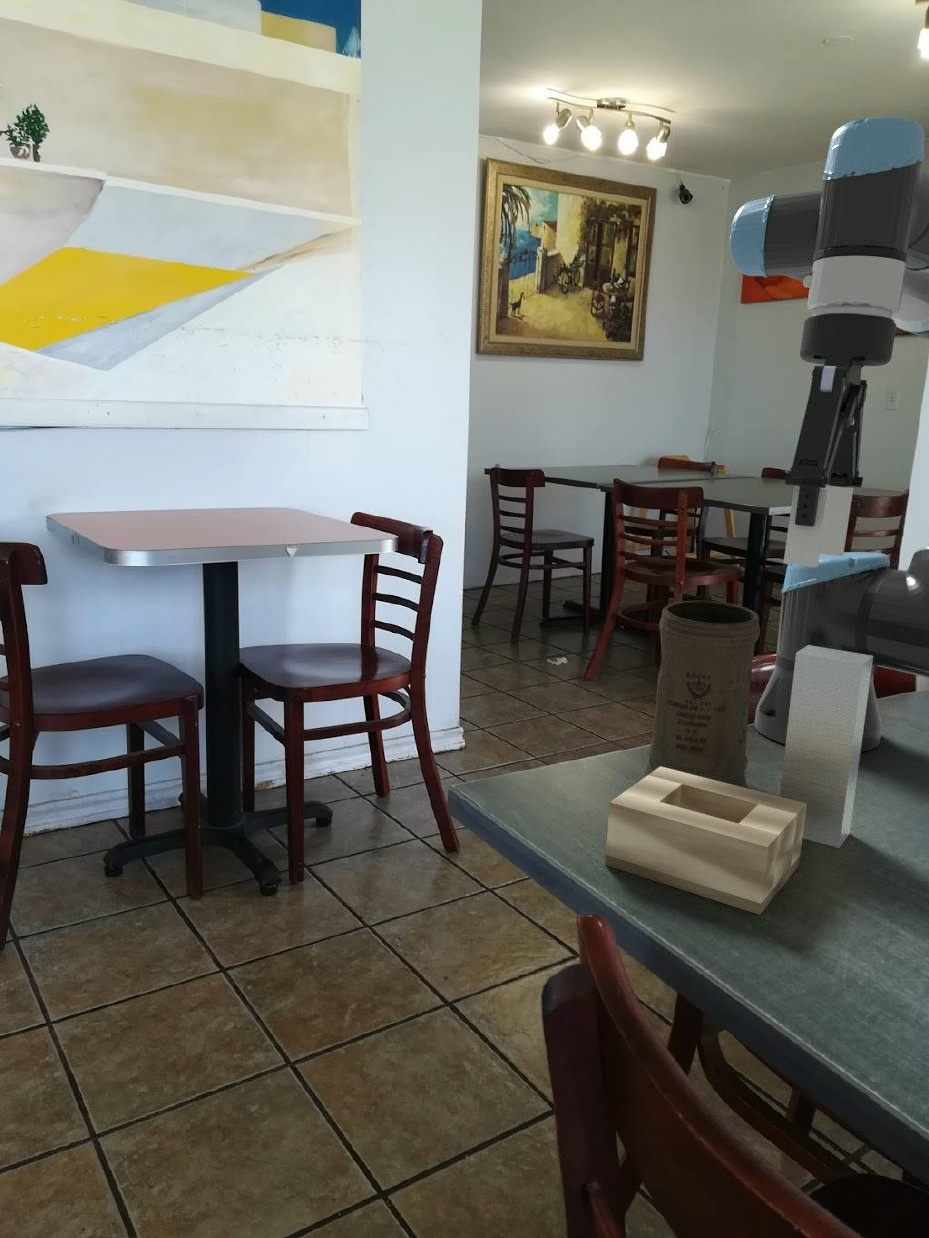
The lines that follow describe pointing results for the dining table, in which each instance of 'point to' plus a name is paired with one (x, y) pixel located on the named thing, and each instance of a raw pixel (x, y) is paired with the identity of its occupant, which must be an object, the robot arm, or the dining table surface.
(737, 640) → the beer stein
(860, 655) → the tall grey pillar
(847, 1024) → the dining table surface
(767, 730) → the robot arm
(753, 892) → the well block
